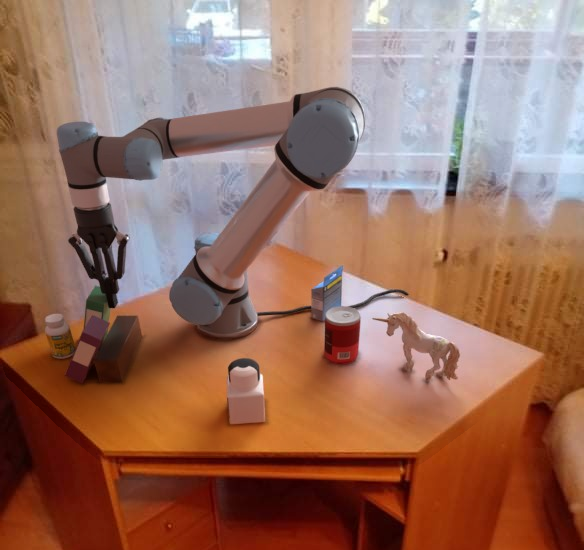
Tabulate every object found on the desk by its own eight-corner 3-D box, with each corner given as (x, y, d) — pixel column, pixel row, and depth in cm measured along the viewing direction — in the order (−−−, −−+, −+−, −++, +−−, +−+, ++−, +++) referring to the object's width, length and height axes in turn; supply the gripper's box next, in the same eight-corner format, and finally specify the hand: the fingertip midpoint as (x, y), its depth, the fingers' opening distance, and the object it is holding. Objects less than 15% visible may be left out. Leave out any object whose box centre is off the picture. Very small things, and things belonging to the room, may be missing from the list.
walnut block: (142, 337, 145) (137, 315, 141) (122, 382, 129) (117, 360, 126) (121, 336, 145) (117, 315, 141) (99, 382, 130) (93, 360, 126)
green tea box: (107, 335, 145) (112, 289, 138) (99, 351, 140) (104, 304, 132) (90, 331, 145) (95, 285, 137) (81, 347, 139) (86, 299, 131)
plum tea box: (91, 365, 135) (110, 322, 128) (82, 383, 129) (100, 340, 122) (74, 358, 134) (92, 314, 127) (64, 376, 128) (82, 331, 121)
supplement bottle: (72, 344, 142) (62, 309, 136) (79, 354, 138) (69, 319, 133) (49, 351, 140) (38, 316, 134) (56, 362, 136) (45, 326, 130)
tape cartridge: (329, 304, 157) (330, 260, 149) (341, 308, 155) (343, 264, 147) (310, 318, 151) (310, 273, 144) (323, 322, 149) (324, 277, 142)
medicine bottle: (229, 403, 123) (224, 355, 116) (263, 400, 124) (261, 353, 116) (229, 425, 118) (224, 376, 110) (265, 422, 118) (262, 373, 111)
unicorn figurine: (376, 353, 137) (380, 302, 129) (461, 370, 132) (471, 318, 124) (367, 370, 132) (372, 318, 124) (455, 388, 126) (466, 335, 118)
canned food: (364, 355, 137) (367, 313, 130) (343, 369, 132) (345, 327, 126) (339, 343, 141) (341, 302, 135) (317, 356, 137) (317, 315, 130)
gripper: (127, 198, 125) (145, 297, 139) (66, 198, 125) (90, 297, 139) (118, 211, 119) (137, 313, 133) (54, 210, 119) (80, 313, 133)
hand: (113, 305), depth 136 cm, fingers closed
